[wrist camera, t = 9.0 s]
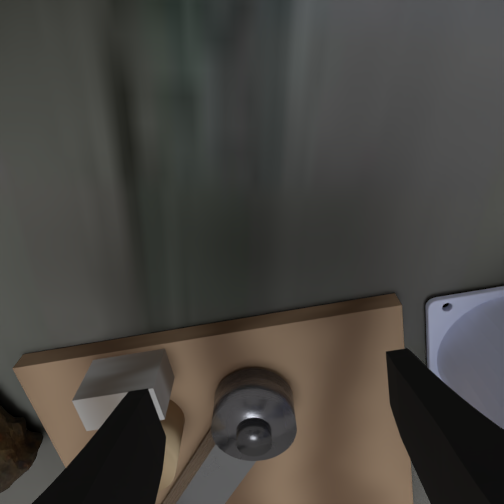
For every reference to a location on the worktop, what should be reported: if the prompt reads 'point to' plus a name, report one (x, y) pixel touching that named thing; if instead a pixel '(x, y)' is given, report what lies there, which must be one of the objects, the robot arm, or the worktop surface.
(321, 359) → the board
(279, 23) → the worktop surface
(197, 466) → the lever
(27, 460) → the hand tool
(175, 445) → the beige cylinder plug
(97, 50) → the worktop surface
